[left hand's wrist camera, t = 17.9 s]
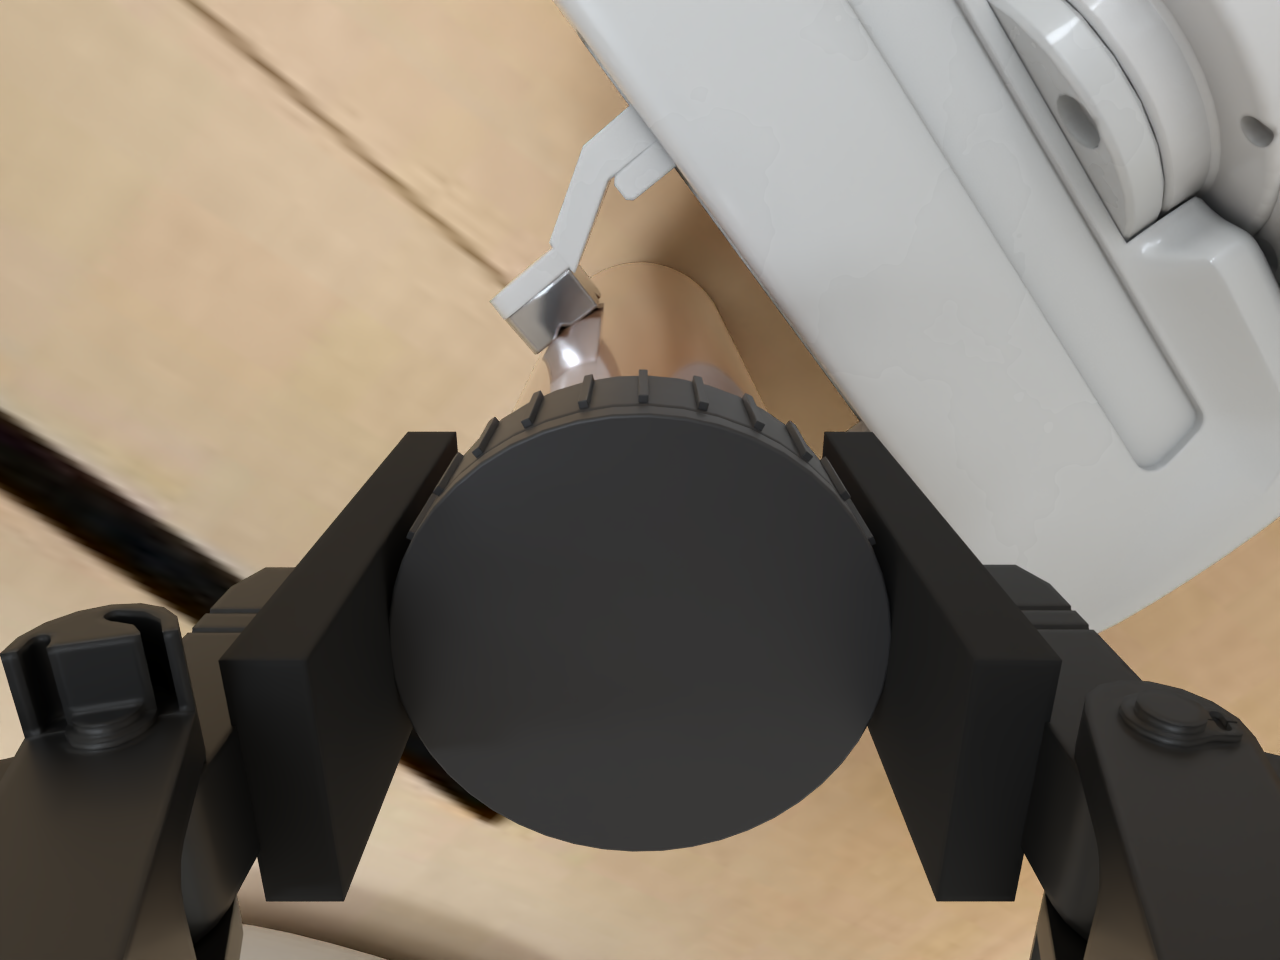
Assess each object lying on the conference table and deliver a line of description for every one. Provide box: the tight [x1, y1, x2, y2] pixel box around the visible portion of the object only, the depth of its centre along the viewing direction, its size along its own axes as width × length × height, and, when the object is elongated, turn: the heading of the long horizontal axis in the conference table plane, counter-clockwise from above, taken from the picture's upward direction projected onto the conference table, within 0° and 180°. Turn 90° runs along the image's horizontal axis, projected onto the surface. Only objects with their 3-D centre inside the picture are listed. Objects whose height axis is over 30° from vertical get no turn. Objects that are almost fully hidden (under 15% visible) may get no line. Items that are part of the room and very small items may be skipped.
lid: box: [389, 369, 891, 851], centre depth 11 cm, size 6×6×2 cm
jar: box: [512, 262, 767, 413], centre depth 18 cm, size 5×5×16 cm
